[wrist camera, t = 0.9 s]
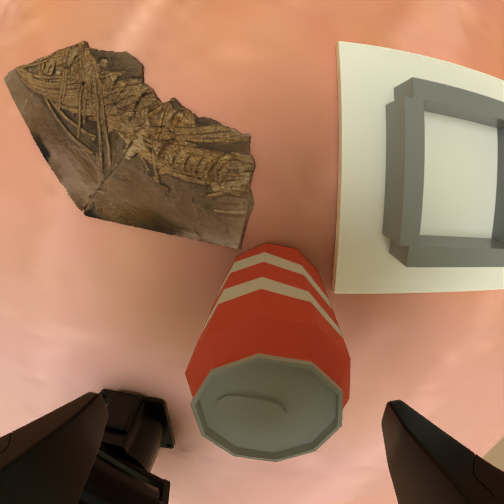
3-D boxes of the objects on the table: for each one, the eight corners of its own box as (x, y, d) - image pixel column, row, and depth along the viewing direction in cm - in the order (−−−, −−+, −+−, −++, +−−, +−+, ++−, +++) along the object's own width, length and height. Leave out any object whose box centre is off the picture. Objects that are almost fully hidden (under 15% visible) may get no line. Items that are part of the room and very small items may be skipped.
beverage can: (231, 234, 20) (178, 324, 9) (329, 252, 20) (389, 358, 9) (218, 318, 22) (172, 450, 10) (307, 334, 22) (329, 472, 10)
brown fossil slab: (300, 175, 19) (301, 176, 18) (197, 301, 22) (194, 307, 21) (49, 11, 16) (42, 7, 15) (-11, 117, 19) (-19, 117, 18)
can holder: (508, 284, 20) (535, 302, 16) (331, 288, 21) (343, 314, 17) (519, 91, 16) (550, 86, 12) (335, 46, 17) (348, 22, 13)
